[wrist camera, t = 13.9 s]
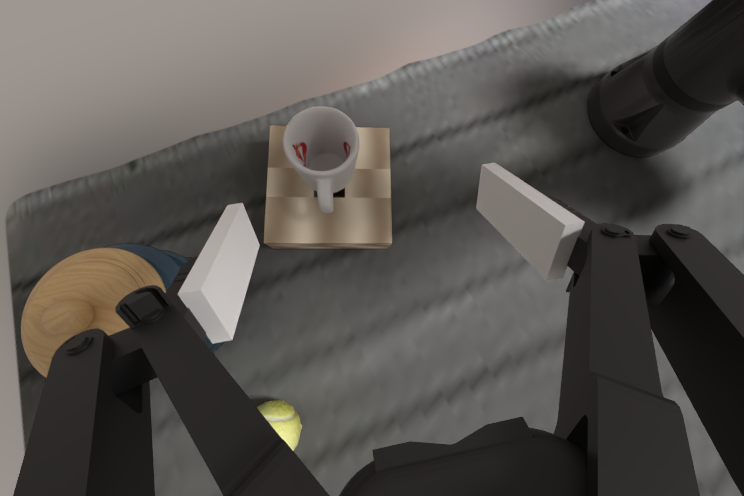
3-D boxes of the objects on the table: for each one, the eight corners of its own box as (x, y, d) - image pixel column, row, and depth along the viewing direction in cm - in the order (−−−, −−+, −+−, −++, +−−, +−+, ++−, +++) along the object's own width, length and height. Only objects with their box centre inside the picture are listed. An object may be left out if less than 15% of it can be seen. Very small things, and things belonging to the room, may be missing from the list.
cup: (361, 221, 36) (363, 200, 29) (298, 224, 36) (282, 203, 28) (357, 143, 38) (357, 104, 30) (297, 145, 38) (281, 105, 30)
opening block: (386, 143, 43) (389, 128, 39) (388, 248, 40) (392, 243, 36) (278, 141, 42) (270, 125, 38) (272, 248, 39) (263, 243, 35)
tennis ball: (236, 413, 30) (229, 487, 28) (302, 409, 31) (298, 479, 30) (249, 393, 36) (244, 453, 34) (304, 391, 37) (301, 448, 36)
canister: (118, 326, 37) (-96, 351, 19) (182, 241, 39) (42, 196, 21) (202, 380, 36) (59, 458, 19) (262, 291, 38) (184, 286, 21)
